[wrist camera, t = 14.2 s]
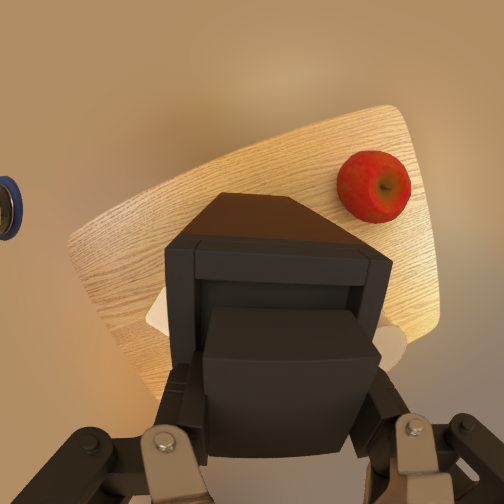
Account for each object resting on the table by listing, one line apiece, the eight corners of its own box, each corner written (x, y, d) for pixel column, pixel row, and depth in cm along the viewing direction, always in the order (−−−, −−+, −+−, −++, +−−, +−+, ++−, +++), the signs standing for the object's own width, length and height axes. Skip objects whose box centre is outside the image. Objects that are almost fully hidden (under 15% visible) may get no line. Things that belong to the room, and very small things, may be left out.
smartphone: (165, 284, 37) (253, 339, 40) (166, 282, 38) (253, 336, 41) (143, 320, 39) (226, 369, 42) (144, 318, 40) (226, 366, 42)
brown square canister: (218, 257, 37) (178, 414, 12) (221, 192, 35) (163, 247, 9) (282, 260, 38) (345, 415, 12) (288, 196, 35) (393, 260, 10)
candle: (333, 323, 41) (369, 387, 26) (305, 295, 39) (335, 359, 25) (367, 292, 40) (416, 347, 25) (340, 262, 38) (389, 312, 24)
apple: (368, 144, 34) (411, 137, 23) (388, 201, 36) (432, 213, 25) (313, 164, 34) (342, 162, 24) (336, 224, 36) (370, 244, 26)
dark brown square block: (213, 403, 11) (208, 456, 8) (212, 305, 10) (201, 357, 7) (324, 403, 11) (339, 452, 8) (350, 309, 10) (383, 356, 7)
